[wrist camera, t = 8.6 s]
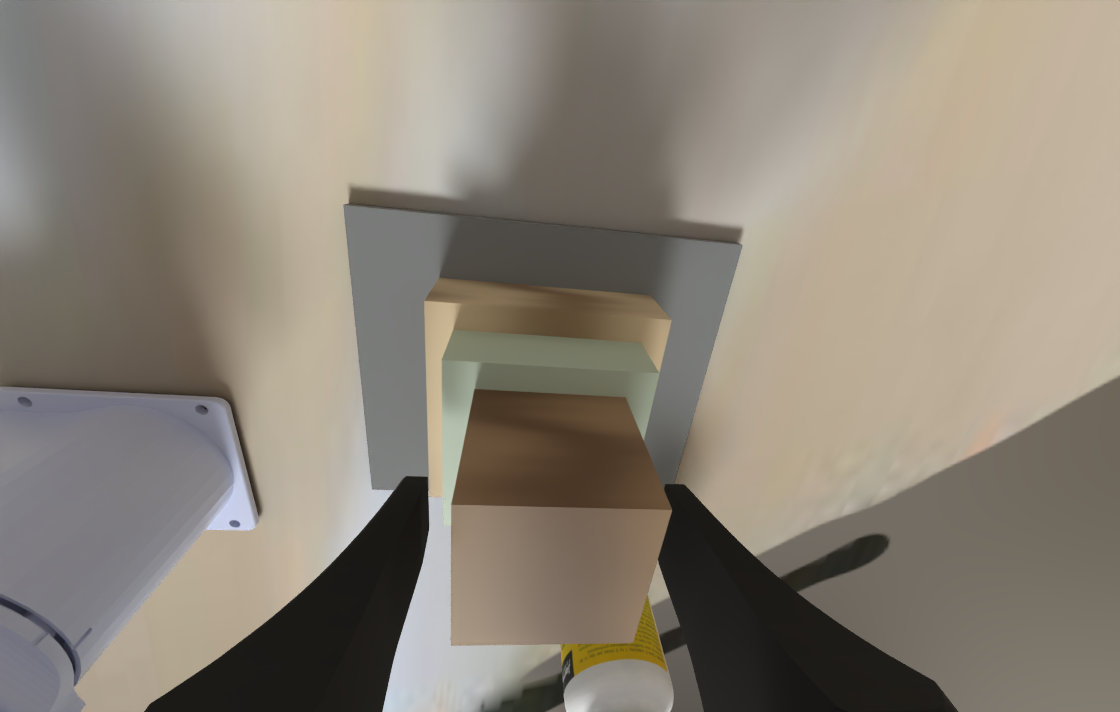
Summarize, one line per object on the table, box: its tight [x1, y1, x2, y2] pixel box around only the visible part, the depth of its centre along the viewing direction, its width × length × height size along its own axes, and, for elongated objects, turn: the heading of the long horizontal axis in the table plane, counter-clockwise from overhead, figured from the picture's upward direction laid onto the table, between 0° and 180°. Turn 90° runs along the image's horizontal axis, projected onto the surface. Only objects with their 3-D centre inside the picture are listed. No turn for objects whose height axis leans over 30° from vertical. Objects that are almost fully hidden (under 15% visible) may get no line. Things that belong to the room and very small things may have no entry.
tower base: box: [424, 278, 672, 497], centre depth 19 cm, size 9×9×3 cm
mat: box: [344, 204, 742, 491], centre depth 20 cm, size 16×14×1 cm
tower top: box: [442, 329, 660, 526], centre depth 16 cm, size 7×7×2 cm
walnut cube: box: [451, 389, 672, 646], centre depth 13 cm, size 5×5×5 cm
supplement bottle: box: [561, 594, 674, 712], centre depth 23 cm, size 5×5×10 cm
